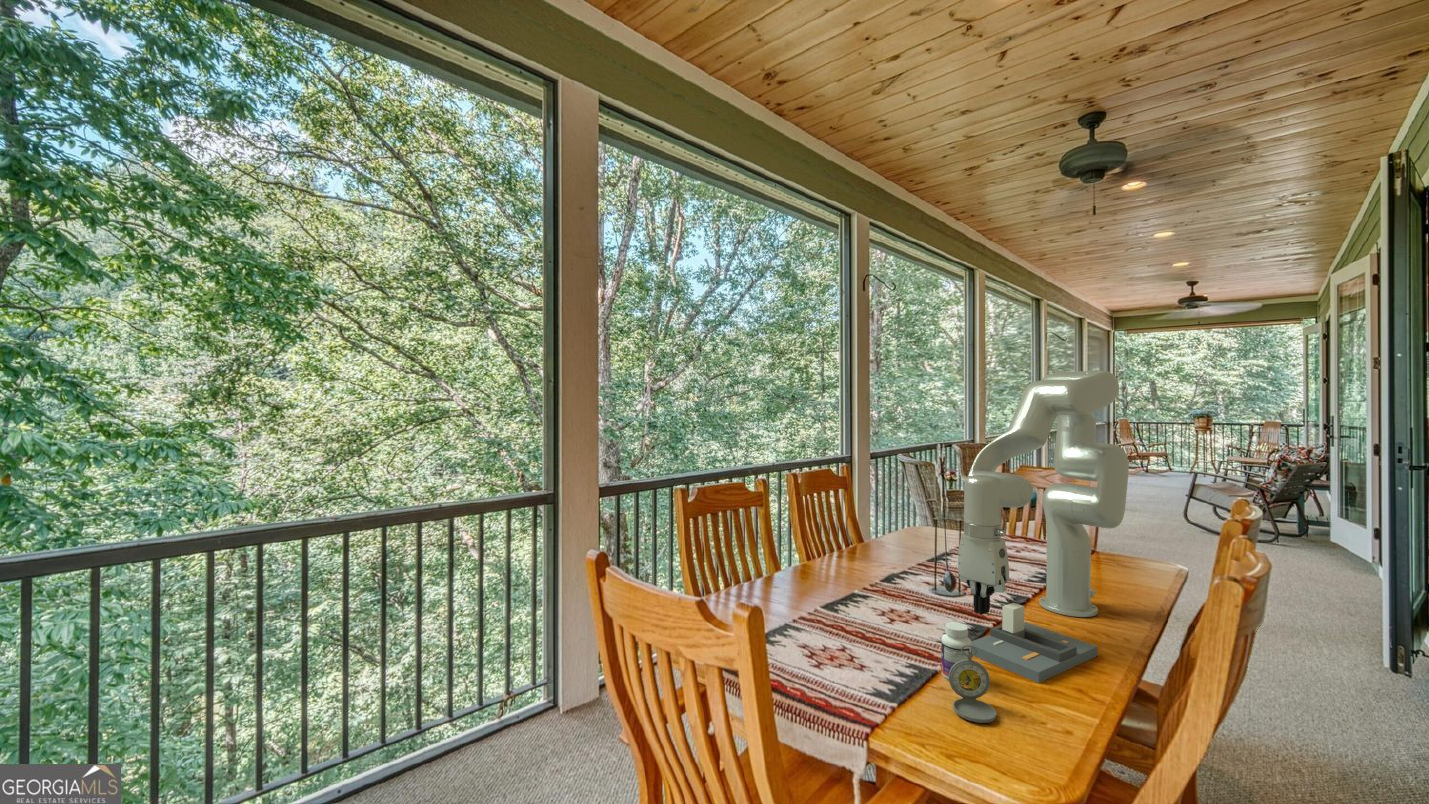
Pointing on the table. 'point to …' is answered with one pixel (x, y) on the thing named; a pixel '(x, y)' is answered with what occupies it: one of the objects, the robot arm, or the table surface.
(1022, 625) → the fader
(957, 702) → the pocket watch
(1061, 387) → the robot arm
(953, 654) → the pill bottle
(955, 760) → the table surface
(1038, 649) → the console
